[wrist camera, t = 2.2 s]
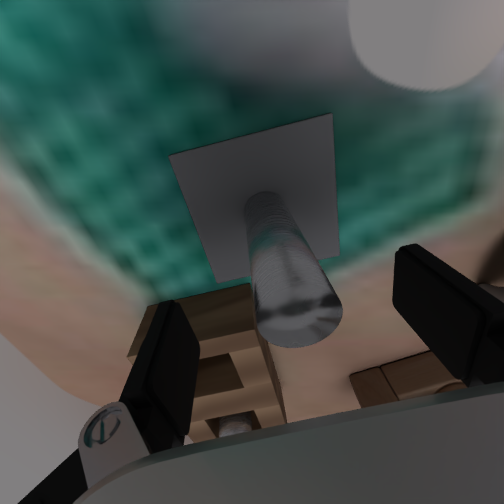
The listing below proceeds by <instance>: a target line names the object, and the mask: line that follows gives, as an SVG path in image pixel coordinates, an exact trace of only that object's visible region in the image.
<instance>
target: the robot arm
mask: <svg viewBox="0 0 504 504" xmlns="http://www.w3.org/2000/svg"><path fill="white" fill-rule="evenodd" d="M392 302H393V305H394V307H395V309H396V310H397V311H398V312H399V313H400V315H401V316H402V317H403V318H404V319H405V321H406V322H407V323H408V324H409V325H410V326H411V328H412V329H413V330H414V331H415V332H416V333H417V335H418V336H419V337H420V338H421V339H422V340H423V342H424V343H425V344H426V345H427V346H428V348H429V349H430V350H431V351H432V352H433V353H434V355H435V356H436V357H437V358H438V359H439V360H440V362H441V363H442V364H443V365H444V366H445V367H446V369H447V370H448V371H449V372H450V373H451V375H452V376H453V377H454V378H456V379H458V380H461V381H462V382H463V383H464V384H465V385H466V386H467V388H464V389H458V390H453V391H448V392H442V393H437V394H432V395H427V396H422V397H417V398H412V399H407V400H402V401H396V402H391V403H386V404H381V405H376V406H371V407H366V408H361V409H356V410H351V411H346V412H341V413H336V414H331V415H326V416H321V417H316V418H311V419H306V420H301V421H297V422H292V423H287V424H282V425H277V426H272V427H267V428H263V429H258V430H253V431H248V432H243V433H238V434H234V435H229V436H224V437H219V438H215V439H210V440H206V441H201V442H197V443H193V444H188V445H184V438H185V435H188V433H189V430H190V424H191V416H192V409H193V402H194V395H195V387H196V380H197V373H198V366H199V358H200V344H199V342H198V340H197V338H196V336H195V333H194V331H193V329H192V327H191V325H190V323H189V321H188V319H187V317H186V315H185V313H184V311H183V309H182V307H181V305H180V303H179V302H175V301H174V300H169V301H165V302H160V303H159V304H158V307H157V309H156V312H155V314H154V317H153V319H152V322H151V324H150V327H149V329H148V332H147V334H146V337H145V339H144V340H143V342H142V344H141V347H140V349H139V352H138V354H137V357H136V359H135V362H134V364H133V366H132V369H131V371H130V374H129V376H128V379H127V381H126V384H125V386H124V389H123V391H122V394H121V396H120V399H119V401H118V402H111V403H109V404H107V405H104V406H103V407H102V408H100V409H99V410H98V411H96V412H95V413H94V414H93V415H92V416H91V417H90V418H89V420H88V421H87V422H86V423H85V425H84V427H83V429H82V430H81V432H80V436H79V439H78V449H77V450H76V451H74V452H73V453H72V454H71V455H70V456H69V457H68V458H67V459H66V460H65V461H63V462H62V463H61V464H60V465H59V466H58V467H57V468H56V469H55V470H54V471H53V472H51V473H50V475H48V476H47V477H46V478H45V479H44V480H43V481H42V482H41V483H39V484H38V485H37V486H36V487H35V488H34V489H33V490H32V491H31V492H30V493H29V494H28V495H26V496H25V497H24V498H23V499H22V500H21V501H20V502H19V503H18V504H504V303H503V302H502V301H500V300H499V299H497V298H496V297H494V296H493V295H491V294H490V293H489V292H487V291H486V290H484V289H483V288H481V287H480V286H478V285H477V284H475V283H474V282H472V281H471V280H470V279H468V278H467V277H465V276H464V275H462V274H461V273H459V272H458V271H456V270H455V269H453V268H452V267H451V266H449V265H448V264H446V263H445V262H443V261H442V260H440V259H439V258H437V257H436V256H434V255H433V254H431V253H430V252H429V251H427V250H426V249H424V248H423V247H421V246H420V245H418V244H410V245H406V246H402V247H400V248H399V251H397V252H396V253H395V264H394V281H393V297H392ZM183 445H184V446H183Z"/></svg>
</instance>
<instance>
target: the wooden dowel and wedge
mask: <svg viewBox="0 0 504 504" xmlns="http://www.w3.org/2000/svg"><path fill="white" fill-rule="evenodd" d="M350 381H351V384H352V387H353V389H354V392H355V394H356V397H357V399H358V401H359V404H360V406H361V408H366V407H371V406H376V405H381V404H386V403H391V402H396V401H402V400H407V399H412V398H417V397H422V396H427V395H432V394H437V393H442V392H448V391H453V390H458V389H464V388H467V386H466V385H465V384H464V383H463V382H462V381H461V380H458V379H456V378H454V377H453V376H452V375H451V373H450V372H449V371H448V370H447V369H446V367H445V366H444V365H443V364H442V363H441V362H440V360H439V359H438V358H437V357H436V356H435V355H434V353H433V352H432V351H430V352H427V353H423V354H420V355H417V356H414V357H410V358H407V359H404V360H400V361H397V362H394V363H390V364H387V365H384V366H382V367H381V369H379V368H378V367H376V368H372V369H369V370H366V371H362V372H359V373H356V374H352V375H351V376H350Z"/></svg>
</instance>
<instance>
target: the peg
mask: <svg viewBox="0 0 504 504" xmlns="http://www.w3.org/2000/svg"><path fill="white" fill-rule="evenodd" d="M244 220H245V228H246V237H247V245H248V254H249V262H250V271H251V279H252V288H253V296H254V305H255V313H256V322H257V328H258V330H259V332H260V334H261V335H262V337H263V338H264V339H266V340H267V341H268V342H270V343H272V344H274V345H277V346H280V347H287V348H298V347H305V346H309V345H312V344H315V343H317V342H319V341H321V340H323V339H324V338H326V337H327V336H329V335H330V334H331V333H332V332H333V331H334V330H335V329H336V328H337V326H338V325H339V323H340V321H341V318H342V313H343V309H342V304H341V301H340V300H339V298H338V296H337V294H336V293H335V291H334V289H333V287H332V285H331V284H330V282H329V280H328V278H327V276H326V275H325V273H324V271H323V269H322V268H321V266H320V264H319V262H318V260H317V259H316V257H315V255H314V253H313V251H312V250H311V248H310V246H309V244H308V242H307V241H306V239H305V237H304V235H303V234H302V232H301V230H300V228H299V226H298V225H297V223H296V221H295V219H294V217H293V216H292V214H291V212H290V210H289V209H288V207H287V205H286V203H285V201H284V200H283V198H282V197H281V196H280V195H278V194H276V193H274V192H271V191H262V192H259V193H256V194H254V195H253V196H252V197H250V199H249V200H248V201H247V203H246V205H245V207H244Z"/></svg>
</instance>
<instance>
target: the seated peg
mask: <svg viewBox="0 0 504 504" xmlns="http://www.w3.org/2000/svg"><path fill="white" fill-rule="evenodd" d="M248 431H252V421H251V411H246V412H241V413H236V414H231V415H226V416H221V417H220V420H219V437H224V436H229V435H234V434H238V433H243V432H248Z"/></svg>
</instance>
